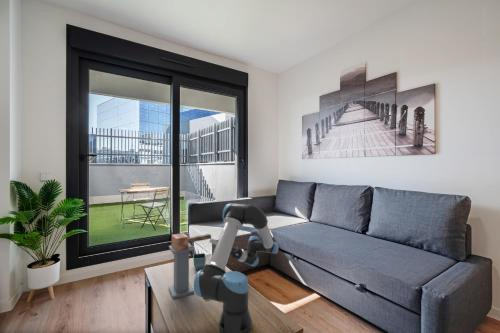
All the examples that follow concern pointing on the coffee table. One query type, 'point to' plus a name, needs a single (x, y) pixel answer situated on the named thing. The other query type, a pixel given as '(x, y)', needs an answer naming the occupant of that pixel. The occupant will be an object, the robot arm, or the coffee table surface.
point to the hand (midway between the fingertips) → (213, 242)
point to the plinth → (181, 273)
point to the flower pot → (199, 261)
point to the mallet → (186, 240)
